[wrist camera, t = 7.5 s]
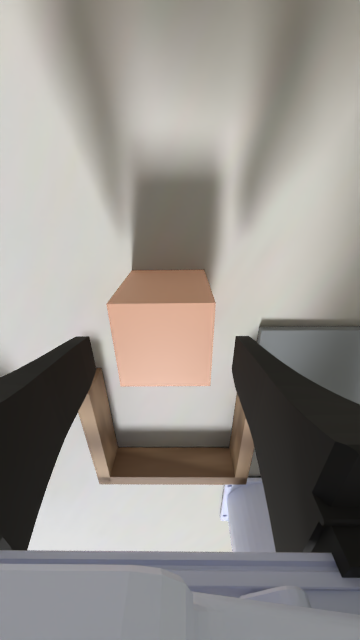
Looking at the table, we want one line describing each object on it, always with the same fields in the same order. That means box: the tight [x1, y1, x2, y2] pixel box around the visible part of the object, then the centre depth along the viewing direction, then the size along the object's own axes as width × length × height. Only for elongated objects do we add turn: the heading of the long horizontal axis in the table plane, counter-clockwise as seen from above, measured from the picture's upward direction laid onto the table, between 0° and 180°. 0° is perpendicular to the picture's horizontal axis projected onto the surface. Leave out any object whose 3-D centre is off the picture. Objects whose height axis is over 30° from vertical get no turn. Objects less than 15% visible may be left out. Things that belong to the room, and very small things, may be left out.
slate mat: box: [257, 326, 360, 404], centre depth 20 cm, size 12×10×1 cm
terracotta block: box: [107, 270, 216, 386], centre depth 14 cm, size 5×5×6 cm
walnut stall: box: [78, 368, 254, 485], centre depth 21 cm, size 12×14×3 cm
